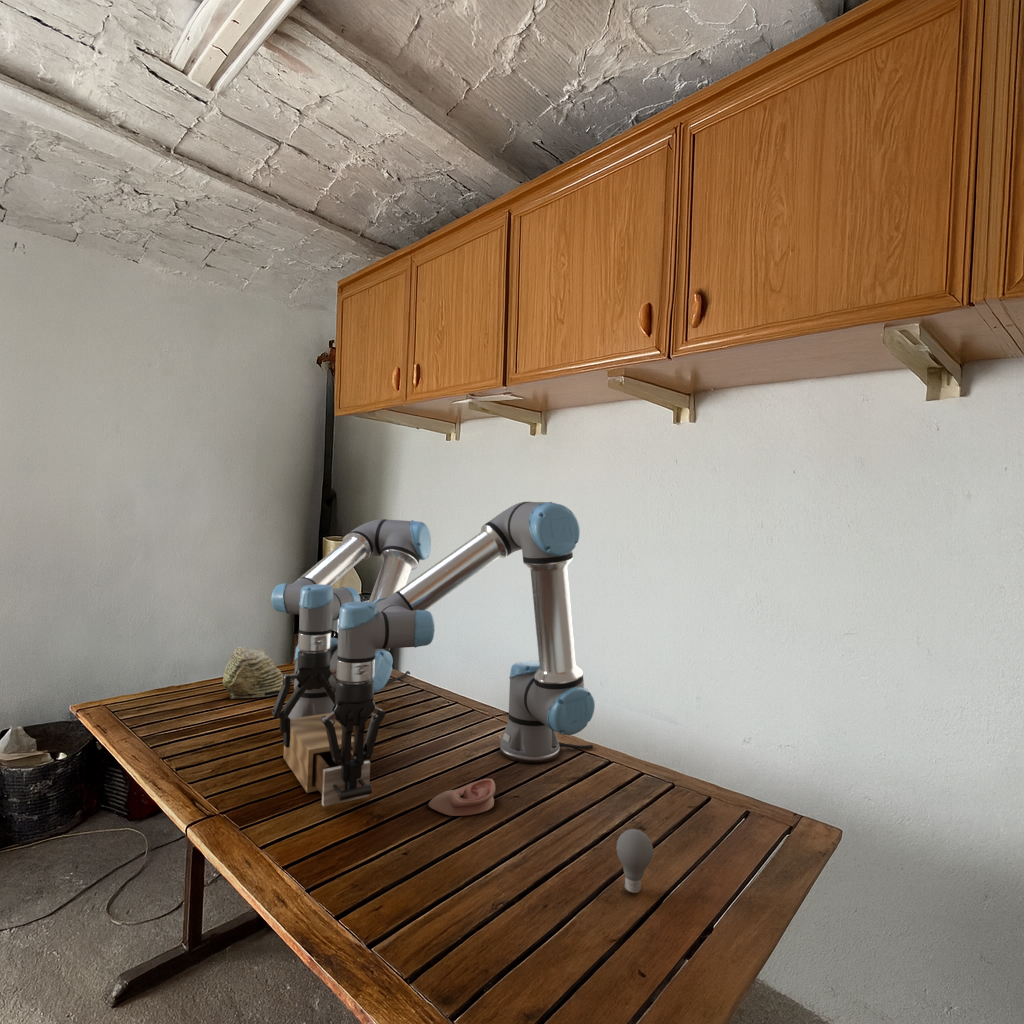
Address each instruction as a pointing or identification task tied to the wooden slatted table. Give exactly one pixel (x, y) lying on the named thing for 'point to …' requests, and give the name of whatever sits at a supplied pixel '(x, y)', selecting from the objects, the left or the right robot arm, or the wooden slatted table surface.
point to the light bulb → (634, 857)
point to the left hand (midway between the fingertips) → (311, 741)
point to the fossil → (251, 674)
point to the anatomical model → (466, 799)
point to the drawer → (338, 780)
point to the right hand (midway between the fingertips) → (350, 795)
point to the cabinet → (308, 746)
